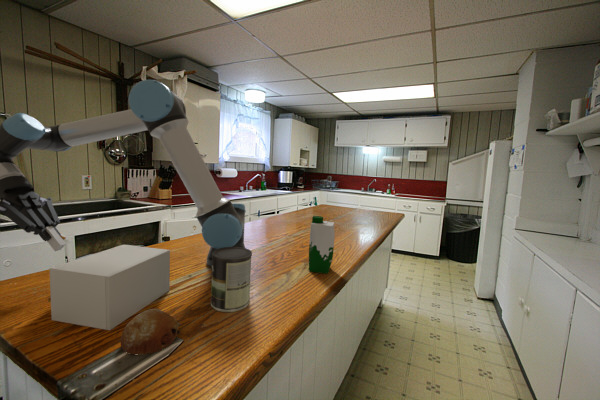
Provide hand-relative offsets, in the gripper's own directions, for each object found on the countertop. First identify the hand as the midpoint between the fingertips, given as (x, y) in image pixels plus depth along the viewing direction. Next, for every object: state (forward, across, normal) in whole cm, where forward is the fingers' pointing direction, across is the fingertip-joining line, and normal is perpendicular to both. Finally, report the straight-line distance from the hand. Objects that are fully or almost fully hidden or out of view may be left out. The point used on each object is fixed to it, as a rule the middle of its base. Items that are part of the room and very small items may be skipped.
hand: (60, 247), depth 74 cm
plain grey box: (+23, +4, +7) cm, 24 cm away
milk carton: (+57, -37, +42) cm, 80 cm away
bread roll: (+36, +14, +20) cm, 44 cm away
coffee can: (+42, -5, +26) cm, 50 cm away
